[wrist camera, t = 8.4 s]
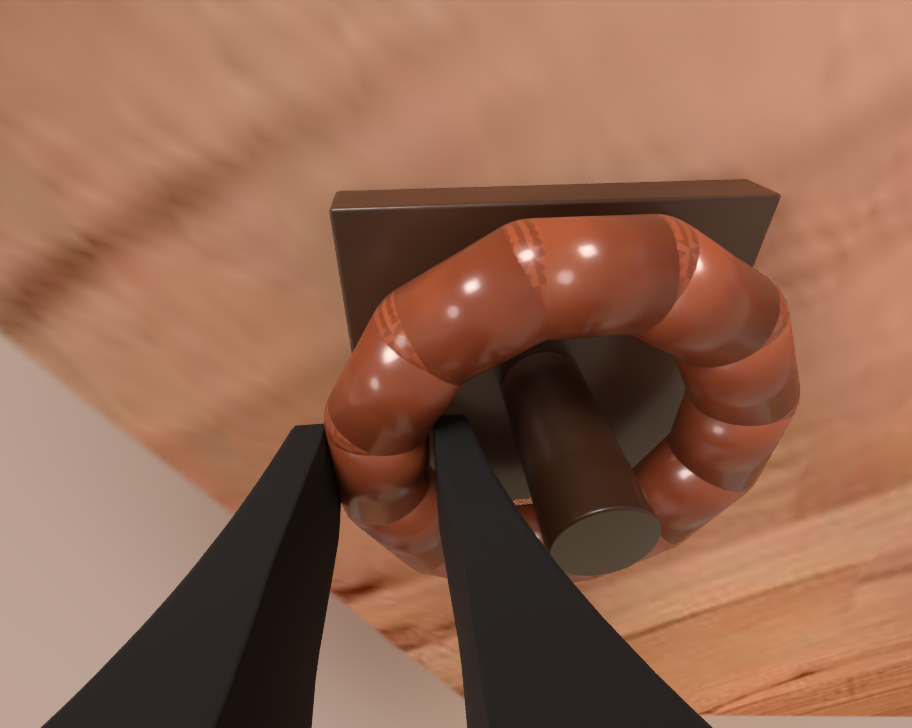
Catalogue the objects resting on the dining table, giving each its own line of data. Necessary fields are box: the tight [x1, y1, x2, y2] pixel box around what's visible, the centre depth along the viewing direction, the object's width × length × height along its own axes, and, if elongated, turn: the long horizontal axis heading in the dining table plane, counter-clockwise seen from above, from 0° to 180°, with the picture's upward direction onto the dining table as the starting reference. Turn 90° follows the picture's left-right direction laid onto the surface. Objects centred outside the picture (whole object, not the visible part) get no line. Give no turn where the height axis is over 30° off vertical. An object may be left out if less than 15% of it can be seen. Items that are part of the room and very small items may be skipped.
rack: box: [329, 179, 780, 576], centre depth 10 cm, size 9×9×6 cm
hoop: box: [324, 214, 800, 582], centre depth 10 cm, size 10×10×2 cm
